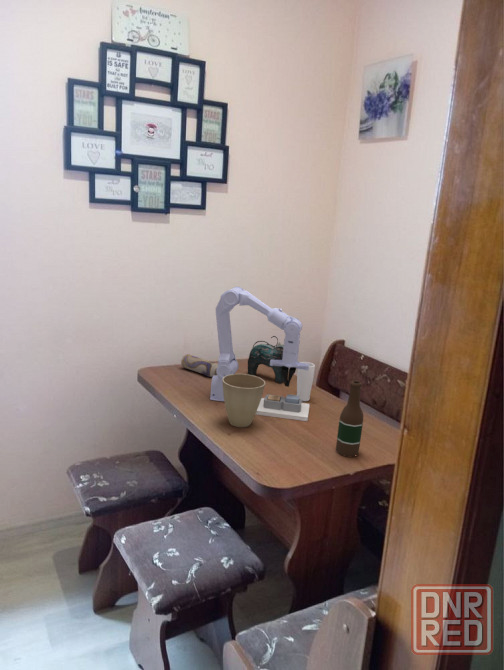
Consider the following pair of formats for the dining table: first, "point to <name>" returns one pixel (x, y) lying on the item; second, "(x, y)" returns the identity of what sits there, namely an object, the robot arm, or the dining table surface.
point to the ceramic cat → (266, 358)
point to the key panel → (283, 409)
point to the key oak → (274, 398)
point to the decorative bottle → (199, 365)
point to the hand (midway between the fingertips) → (287, 385)
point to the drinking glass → (305, 381)
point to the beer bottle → (350, 423)
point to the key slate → (292, 399)
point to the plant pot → (242, 397)
